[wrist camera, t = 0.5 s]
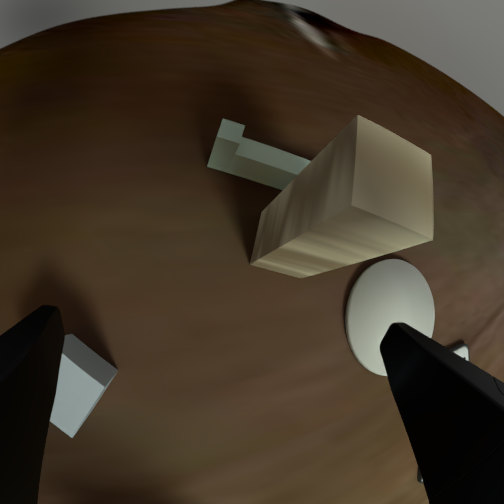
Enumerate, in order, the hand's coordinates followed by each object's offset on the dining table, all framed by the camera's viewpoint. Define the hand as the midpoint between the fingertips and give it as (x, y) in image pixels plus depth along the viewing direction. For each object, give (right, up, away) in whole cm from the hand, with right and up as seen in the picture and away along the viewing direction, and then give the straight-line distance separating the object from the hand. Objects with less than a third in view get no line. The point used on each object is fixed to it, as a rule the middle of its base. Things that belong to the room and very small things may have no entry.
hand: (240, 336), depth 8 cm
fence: (+3, +7, +17) cm, 19 cm away
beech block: (+2, +3, +16) cm, 16 cm away
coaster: (+12, -4, +17) cm, 21 cm away
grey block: (-11, -6, +10) cm, 16 cm away
